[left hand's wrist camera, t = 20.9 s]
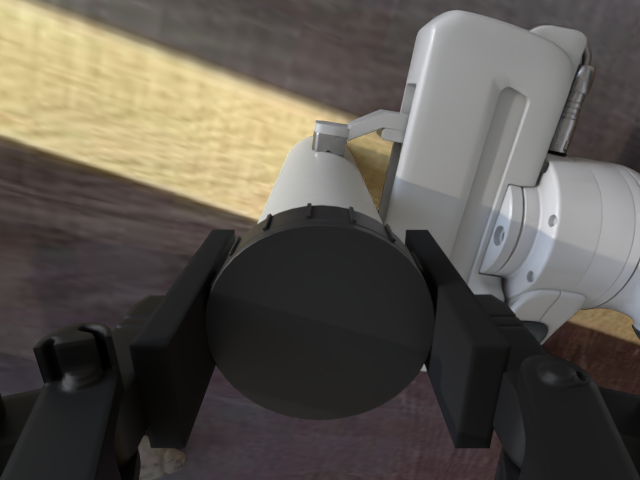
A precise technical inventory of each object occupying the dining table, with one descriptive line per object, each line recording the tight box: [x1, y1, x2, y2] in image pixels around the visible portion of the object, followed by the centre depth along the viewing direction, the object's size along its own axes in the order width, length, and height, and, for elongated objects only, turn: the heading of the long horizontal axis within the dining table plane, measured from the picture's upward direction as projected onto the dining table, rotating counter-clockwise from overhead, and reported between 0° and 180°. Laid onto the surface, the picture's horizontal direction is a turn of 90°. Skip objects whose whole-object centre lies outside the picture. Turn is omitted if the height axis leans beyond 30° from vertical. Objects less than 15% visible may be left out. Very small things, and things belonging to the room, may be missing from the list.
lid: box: [205, 203, 435, 420], centre depth 11 cm, size 6×6×2 cm
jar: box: [258, 136, 383, 224], centre depth 20 cm, size 5×5×19 cm
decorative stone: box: [138, 435, 186, 480], centre depth 37 cm, size 6×16×3 cm, turn 87°
